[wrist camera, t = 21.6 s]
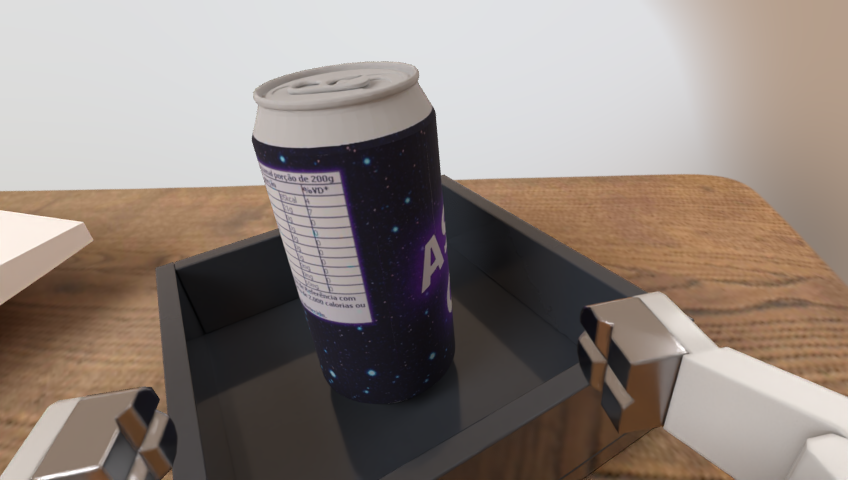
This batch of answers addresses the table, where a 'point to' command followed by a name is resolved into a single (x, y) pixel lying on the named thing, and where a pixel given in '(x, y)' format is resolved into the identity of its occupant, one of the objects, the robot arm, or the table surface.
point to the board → (35, 248)
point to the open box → (406, 420)
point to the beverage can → (362, 222)
